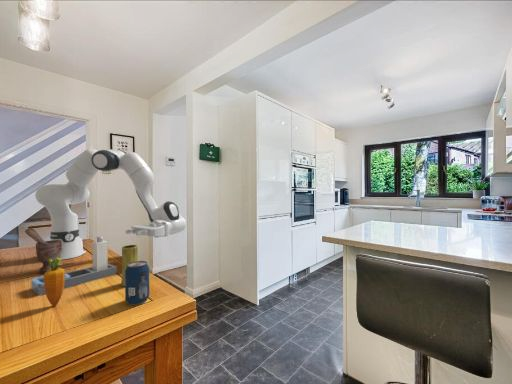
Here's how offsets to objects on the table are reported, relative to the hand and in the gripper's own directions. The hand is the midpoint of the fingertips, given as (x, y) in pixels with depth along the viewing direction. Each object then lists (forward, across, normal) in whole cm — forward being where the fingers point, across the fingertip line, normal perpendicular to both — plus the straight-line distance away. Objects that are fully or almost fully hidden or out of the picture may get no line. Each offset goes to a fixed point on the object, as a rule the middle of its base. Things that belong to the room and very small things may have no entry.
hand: (131, 232), depth 109 cm
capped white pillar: (+13, 0, +16) cm, 21 cm away
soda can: (+17, +36, +16) cm, 43 cm away
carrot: (+33, +18, +16) cm, 41 cm away
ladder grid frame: (+21, 0, +16) cm, 26 cm away
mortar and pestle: (+25, -24, +15) cm, 38 cm away
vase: (+11, +20, +16) cm, 28 cm away
